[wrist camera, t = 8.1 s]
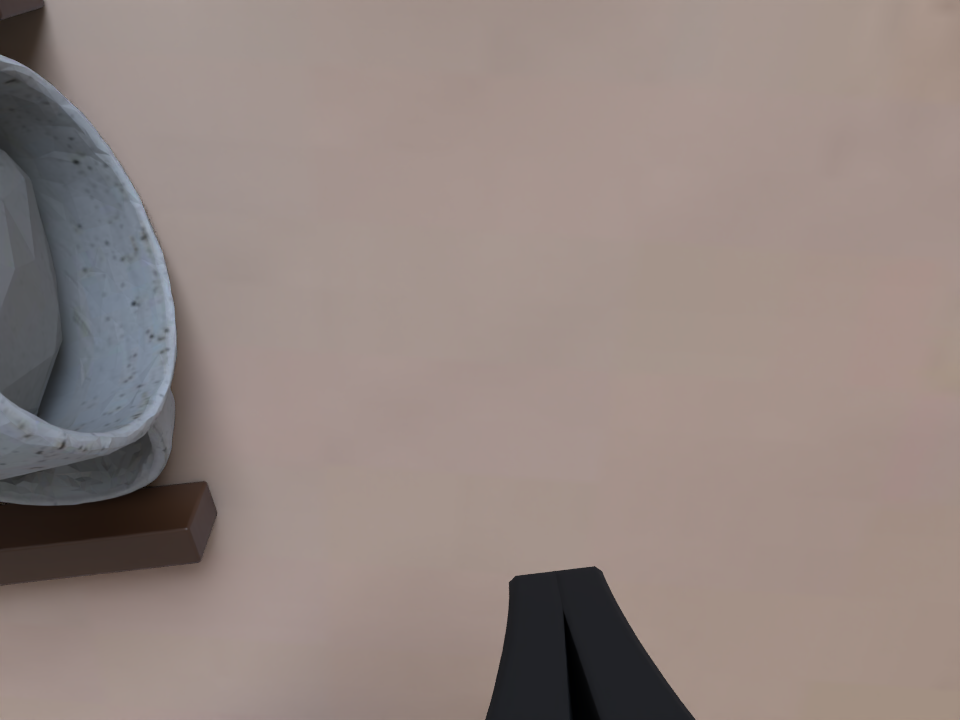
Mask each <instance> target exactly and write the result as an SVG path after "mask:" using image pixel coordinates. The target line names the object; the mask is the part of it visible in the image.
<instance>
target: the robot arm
mask: <svg viewBox="0 0 960 720" xmlns="http://www.w3.org/2000/svg"><path fill="white" fill-rule="evenodd" d="M485 720H695V718H694V717H693V716H692V715H691V713H690V712H689V711H688V709H687V708H686V707H685V706H684V704H683V703H682V702H681V700H680V699H679V698H678V696H677V695H676V693H675V692H674V691H673V689H672V688H671V687H670V685H669V684H668V683H667V681H666V680H665V678H664V677H663V675H662V674H661V672H660V671H659V669H658V668H657V667H656V665H655V664H654V662H653V661H652V659H651V658H650V656H649V655H648V653H647V652H646V650H645V649H644V647H643V646H642V644H641V643H640V641H639V640H638V638H637V636H636V635H635V633H634V631H633V630H632V628H631V626H630V625H629V623H628V621H627V620H626V618H625V616H624V615H623V613H622V611H621V609H620V607H619V606H618V604H617V602H616V600H615V598H614V596H613V594H612V592H611V590H610V588H609V586H608V584H607V582H606V580H605V577H604V575H603V572H602V571H601V570H599V569H598V568H596V567H595V566H594V567H586V568H578V569H569V570H561V571H553V572H545V573H536V574H528V575H520V576H515V577H514V578H513V579H512V580H511V581H510V582H509V610H508V620H507V627H506V634H505V639H504V645H503V651H502V656H501V660H500V665H499V669H498V673H497V678H496V682H495V686H494V691H493V695H492V699H491V702H490V706H489V709H488V712H487V716H486V719H485Z"/></svg>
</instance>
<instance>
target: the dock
mask: <svg viewBox="0 0 960 720" xmlns="http://www.w3.org/2000/svg"><path fill="white" fill-rule="evenodd" d="M43 6H44V2H43V0H0V20H3V19H6V18H10V17H13V16H16V15H19V14H23V13H26V12H29V11H32V10H36V9H39V8H41V7H43ZM216 516H217V511H216V508H215V505H214V502H213V499H212V497H211V494H210V491H209V488H208V485H207V483H206V482H204V481H203V482H194V483H185V484H177V485H168V486H159V487H151V488H142V489H138V490H136V491H134V492H131V493H129V494H126V495H122V496H119V497H116V498H111V499H106V500H101V501H96V502H88V503H82V504H77V505H53V506H43V505H23V504H14V503H13V504H4V505H0V585H8V584H17V583H26V582H34V581H43V580H52V579H61V578H69V577H78V576H87V575H95V574H104V573H113V572H122V571H130V570H139V569H148V568H156V567H165V566H174V565H183V564H191V563H198V562H200V561H201V559H202V556H203V553H204V550H205V547H206V545H207V542H208V539H209V536H210V533H211V530H212V527H213V524H214V522H215V519H216Z"/></svg>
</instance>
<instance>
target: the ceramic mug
mask: <svg viewBox="0 0 960 720" xmlns="http://www.w3.org/2000/svg"><path fill="white" fill-rule="evenodd" d="M176 340H177V329H176V322H175V305H174V301H173V297H172V293H171V287H170V280H169V275H168V270H167V267H166V263H165V260H164V256H163V253H162V250H161V248H160V245H159V243H158V240H157V238H156V235H155V233H154V230H153V227H152V225H151V223H150V221H149V219H148V217H147V215H146V212H145V210H144V207H143V205H142V203H141V200H140V198H139V196H138V194H137V192H136V190H135V189H134V187H133V185H132V184H131V182H130V180H129V178H128V176H127V175H126V173H125V171H124V169H123V167H122V166H121V164H120V163H119V161H118V160H117V159H116V157H115V156H114V154H113V152H112V150H111V149H110V147H109V146H108V145H107V144H106V142H105V141H104V140H103V139H102V137H101V136H100V135H99V133H98V132H97V130H96V129H95V128H94V126H93V125H92V124H91V123H90V121H89V120H88V119H87V118H86V116H85V115H84V114H83V113H82V112H81V111H80V110H79V109H77V108H76V107H75V106H74V105H73V104H72V103H71V102H69V101H68V100H67V99H66V98H65V97H64V96H63V95H62V94H61V93H60V92H59V91H58V90H57V89H56V88H55V87H54V86H53V85H52V84H51V83H49V82H48V81H47V80H45V79H44V78H43V77H41V76H40V75H39V74H37V73H36V72H34V71H33V70H31V69H30V68H28V67H27V66H25V65H23V64H21V63H19V62H17V61H15V60H13V59H10V58H8V57H5V56H3V55H0V502H7V503H14V504H23V505H43V506H53V505H77V504H82V503H88V502H96V501H101V500H106V499H111V498H116V497H119V496H122V495H126V494H129V493H131V492H134V491H136V490H138V489H140V488H142V487H144V486H146V485H148V484H150V483H151V482H152V481H154V480H155V479H156V478H157V477H158V476H159V475H160V473H161V472H162V470H163V469H164V467H165V465H166V463H167V460H168V458H169V455H170V452H171V449H172V436H173V430H174V422H175V400H174V397H173V394H172V392H171V389H170V387H171V383H172V379H173V375H174V370H175V364H176V358H177V345H176Z"/></svg>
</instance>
